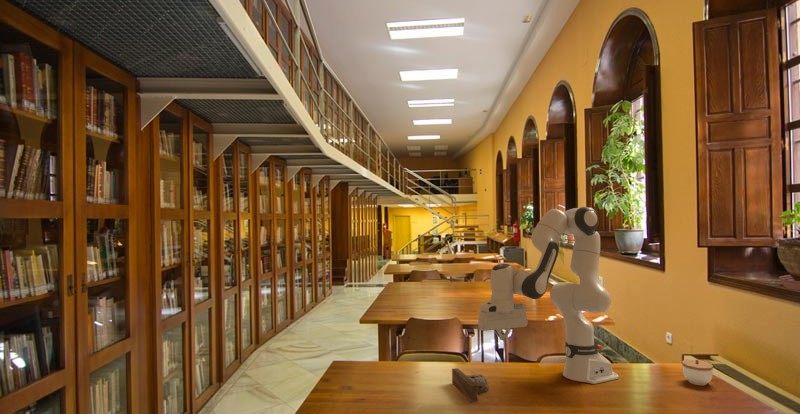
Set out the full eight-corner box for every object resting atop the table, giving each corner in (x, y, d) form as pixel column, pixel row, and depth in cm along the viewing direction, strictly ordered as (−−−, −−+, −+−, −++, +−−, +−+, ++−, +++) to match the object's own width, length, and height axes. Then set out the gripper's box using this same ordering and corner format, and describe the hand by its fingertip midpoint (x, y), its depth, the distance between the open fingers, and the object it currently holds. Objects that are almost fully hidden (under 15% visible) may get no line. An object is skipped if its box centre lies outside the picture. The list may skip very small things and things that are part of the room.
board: (458, 382, 192) (457, 368, 192) (477, 401, 173) (477, 385, 173) (452, 383, 191) (452, 368, 191) (471, 402, 172) (471, 386, 172)
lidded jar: (686, 376, 197) (685, 354, 197) (716, 382, 189) (715, 359, 190) (678, 382, 190) (678, 359, 190) (709, 389, 182) (709, 365, 182)
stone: (461, 374, 194) (485, 372, 193) (462, 388, 193) (487, 386, 192) (462, 379, 181) (488, 377, 180) (464, 394, 180) (490, 392, 179)
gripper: (522, 301, 192) (523, 334, 192) (476, 305, 187) (477, 339, 187) (529, 304, 186) (531, 338, 186) (482, 308, 181) (483, 344, 181)
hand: (503, 339), depth 186 cm, fingers closed
